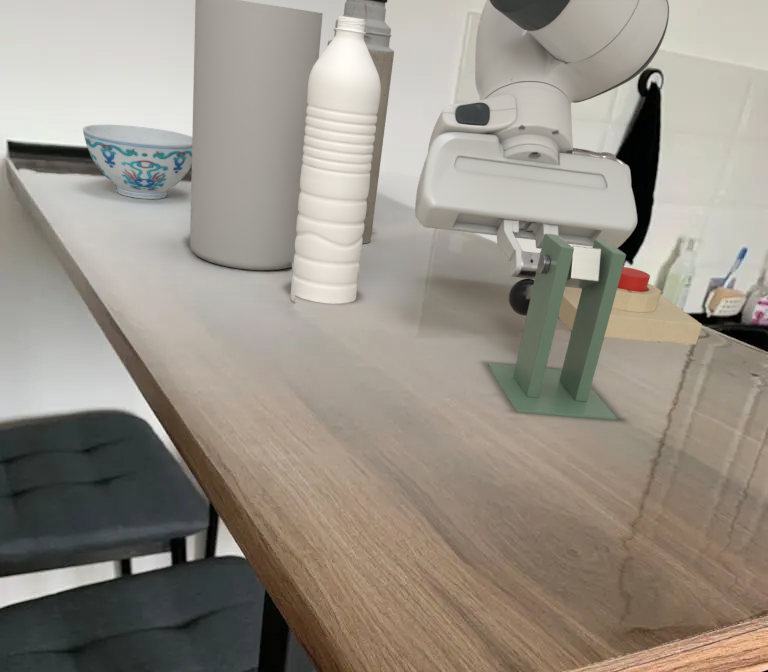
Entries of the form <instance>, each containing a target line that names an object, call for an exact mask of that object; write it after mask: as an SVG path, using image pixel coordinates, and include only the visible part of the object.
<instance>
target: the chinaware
mask: <svg viewBox="0 0 768 672" xmlns="http://www.w3.org/2000/svg"><path fill="white" fill-rule="evenodd" d="M82 132H83V137H84V141H85V144H86V147H87V150H88V152H89V156H90V157H91V159H92V161H93V163H94V165H95V166H96V167H97V169H98V170H99V171H100V173H102V175H103V176H104V177H105V178H106V179H108V180H109V181H110V182H111V183H112V184H114V185H116V192H117V193H118V194H119V195H122V196H125V197H129V198H136V199H142V200H143V199H144V200H158V199H165V198H167V196H168V190H170V189H172V188H173V187H175V186H176V185H178V184H179V183H180V182H181V181H182V180H183V179H184V178H185V177H186V175H187V174H188V173H189V171H190V170H191V169H192V135H189V134H184V133H181V132H177V131H171V130H165V129H160V128H153V127H145V126H135V125H127V124H126V125H125V124H91V125H86V126H84V127H83V128H82Z"/></svg>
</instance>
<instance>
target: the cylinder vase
mask: <svg viewBox="0 0 768 672" xmlns="http://www.w3.org/2000/svg"><path fill="white" fill-rule="evenodd" d="M194 2H195V3H194V11H195V12H194V44H193V45H194V46H193V48H194V50H193V52H194V53H193V88H192V89H193V92H192V93H193V94H192V95H193V97H192V98H193V99H192V130H191V131H192V132H191V133H192V135H191V137H192V166H191V179H190V180H191V181H190V222H189V223H190V224H189V226H190V227H189V228H190V229H189V247H190V249H191V251H192V252H193V253H194V255H195V256H196V257H198V258H200V259H202V260H204V261H206V262H209V263H212V264H215V265H219V266H223V267H228V268H232V269H239V270H248V271H249V270H250V271H277V270H279V271H280V270H284V269H289V268H293V261H294V255H295V253H296V251H295V239H296V236H297V232H296V225H297V217H298V214H299V211H298V200H299V194H300V192H301V189H300V176H301V168H302V164H303V161H302V157H303V154H304V152H303V146H304V145H305V143H304V136H305V135H306V133H305V126H306V122H305V120H306V116H307V113H306V108H307V106H308V103H307V95H308V81H309V76H310V73H311V70H312V68H313V66H314V64H315V63H316V61H317V60H318V59H319V57H320V48H321V37H322V27H323V15H324V14H323V13H322V12H318V11H317V12H316V11H311V10H306V9H305V10H304V9H298V8H292V7H285V6H279V5H273V4H266V3H261V2H254V1H247V0H195V1H194Z"/></svg>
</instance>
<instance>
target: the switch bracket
mask: <svg viewBox="0 0 768 672" xmlns="http://www.w3.org/2000/svg"><path fill="white" fill-rule="evenodd" d="M572 246H573V245H571V244H568V243H566V242H565V241H564V240H563V239H561V238H560V237H559V236H558V235H555V234H546V233H545V235H544V239H543V244H542V248H541V249H540V252H541V253H540V252H539V253H540V257H539V262H538V266H537V271H536V276H535V279H533V280H534V285H533V289H532V294H531V298H530V303H529V307H528V312H527V316H525V322H524V326H523V330H522V336H521V340H520V344H519V348H518V353H517V358H516V362H515V364H513V365H512V364H503V363H502V364H501V363H491V362H488V363H487V367H488V369H489V370H490V371H491V373H492V374H493V376H494V378H495V380H496V382H497V383H498V384H499V387H500V388H501V391H503V393H504V394H505V396H506V398H507V400H508V401H509V403H510V404H511V406H512V407H513V409H514V411H515V412H516V413H517V414H528V415H540V416H552V417H553V416H554V417H564V418H565V417H567V418H579V419H591V420H603V421H617V420H618V419H617V417H616V415H615V414H614V413H613V412H612V411H611V409H610V408H609V407H608V406H607V404H605V402H604V401H603V400H602V399H601V397H600V396H599V395H598V394H597V393H596V392H595V391H594V389H593V388H592V384H593V380H594V378H595V377H594V376H595V373H596V370H597V365H598V362H599V358H600V355H601V350H602V346H603V343H604V341H605V337H604V336H605V332H606V329H607V325H608V321H609V317H610V314H611V310H612V306H613V303H614V299H615V295H616V291H617V288H618V284H619V280H620V276H621V273H622V269H623V267H624V264H625V261H626V257H627V254H626V253H625V252H623V251H622V250H621V249H619V248H616V247H614V246H613V245H612V244H610V243H609V242H607V241H605V240H597V239H595V240H594V243H593V247H592V246H591V248H597V249H601V258H600V270H599V281H598V282H596V283H594V284H592V285H590V286H588V287H586V288H584V289H582V292H581V296H580V300H579V304H578V308H577V312H576V316H575V320H574V324H573V328H572V331H571V332H570V336H569V341H568V344H567V349H566V353H565V357H564V360H563V364H562V368H561V369H558V368H549V367H548V368H547V365H548V360H549V356H550V353H551V348H552V344H553V340H554V336H555V332H556V327H557V323H558V320H559V319H558V318H559V317H558V315H559V311H560V307H561V302H562V298H563V294H564V290H565V286H566V281H567V277H568V273H569V269H570V265H571V260H572V256H573V252H574V248H573V247H572Z"/></svg>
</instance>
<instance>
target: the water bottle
mask: <svg viewBox="0 0 768 672" xmlns="http://www.w3.org/2000/svg"><path fill="white" fill-rule="evenodd" d="M337 19H338V25H337V27H338V28H335V27H334V29H336V35H335V34H334V35H335V37H333V38H332V39H331V40H332V41H331V42H330V44H329V45H328V44H327V47H326V48H325V49H324V50H323V52H322V53H321V55H319V59H318V60H317V61H316V63H315V64H314V66H313V68H312V70H311V73H310V76H309V81H308V95H307V103H308V106H307V108H306V113H307V116H306V120H305V122H306V126H305V133H306V135H305V136H304V143H305V145H304V146H303V152H304V154H303V157H302V161H303V164H302V168H301V176H300V189H301V192H300V194H299V200H298V211H299V214H298V217H297V225H296V232H297V236H296V239H295V251H296V253H295V255H294V261H293V262H292V271H293V274H292V276H291V285H290V286H291V287H290V299H291V301H292V302H293V303H294V304H296V303H297V302H296V297H298V298H301V299H304V300H307V301H310V302H314V303H321V304H332V305H333V304H334V305H335V304H337V305H339V304H340V305H341V304H348V303H351V302H354V301H355V300H356V299H357V294H358V278H359V274H360V267H361V266H360V263H361V262H360V259H361V257H362V251H363V244H362V241H363V238H362V234H363V232H364V220H365V216H366V210H367V201H366V198H367V197H368V193H369V184H370V173H369V172H370V171H371V161H372V152H373V149H374V146H373V143H374V140H375V136H374V133H375V131H376V126H375V124H376V122H377V116H376V114H377V113H378V108H379V102H380V94H381V84H380V78H379V75H378V72H377V70H376V67H375V65H374V63H373V60H372V58H371V56H370V53H369V51H368V49H367V46H366V44H365V42H364V33H366V32H363V31H364V29H365V20H363V19H357V18H351V17H344V16H343V15H338V16H337Z"/></svg>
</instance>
